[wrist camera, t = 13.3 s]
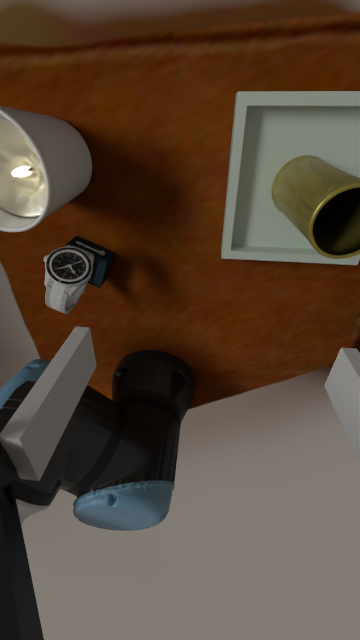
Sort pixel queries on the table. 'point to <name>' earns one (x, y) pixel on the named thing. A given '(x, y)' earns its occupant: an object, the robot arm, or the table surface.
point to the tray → (271, 155)
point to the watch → (74, 272)
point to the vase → (320, 205)
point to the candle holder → (38, 167)
